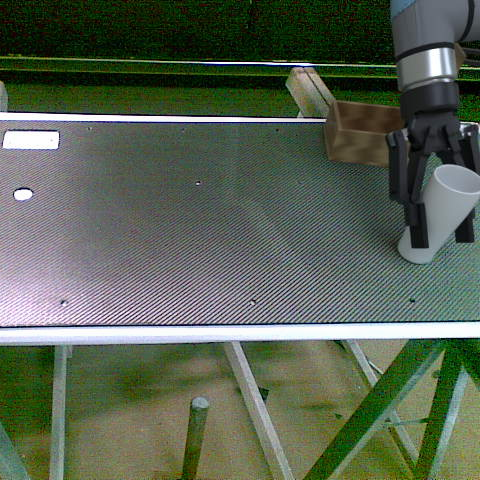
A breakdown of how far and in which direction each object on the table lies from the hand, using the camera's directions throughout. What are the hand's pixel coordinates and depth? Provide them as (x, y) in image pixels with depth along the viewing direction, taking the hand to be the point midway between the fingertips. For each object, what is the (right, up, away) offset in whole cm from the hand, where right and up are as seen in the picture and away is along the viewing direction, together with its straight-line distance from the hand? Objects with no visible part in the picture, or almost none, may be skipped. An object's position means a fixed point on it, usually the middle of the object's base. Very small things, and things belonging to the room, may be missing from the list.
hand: (442, 245), depth 69 cm
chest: (0, +19, +27) cm, 33 cm away
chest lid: (+7, +29, +16) cm, 34 cm away
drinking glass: (-1, -2, +6) cm, 7 cm away
